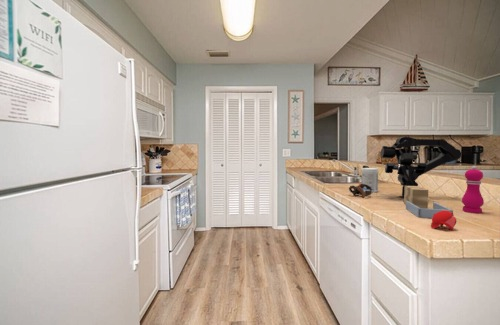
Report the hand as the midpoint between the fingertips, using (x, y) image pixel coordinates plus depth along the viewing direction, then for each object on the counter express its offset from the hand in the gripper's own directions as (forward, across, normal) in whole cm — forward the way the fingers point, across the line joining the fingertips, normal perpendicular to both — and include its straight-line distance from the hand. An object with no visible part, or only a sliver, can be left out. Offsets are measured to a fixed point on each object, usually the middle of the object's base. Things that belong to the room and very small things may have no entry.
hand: (408, 180), depth 131 cm
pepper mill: (+19, +20, -2) cm, 28 cm away
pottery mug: (0, -21, +16) cm, 26 cm away
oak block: (+15, 0, +1) cm, 15 cm away
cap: (+40, -3, -24) cm, 46 cm away
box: (+25, 0, -9) cm, 26 cm away
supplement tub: (-14, -13, +29) cm, 35 cm away
